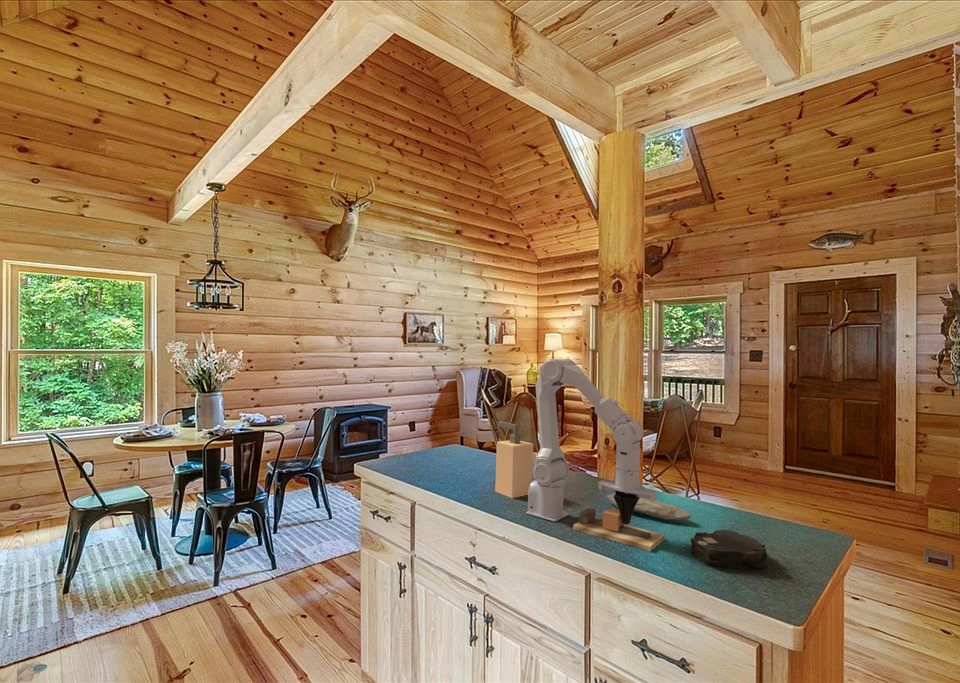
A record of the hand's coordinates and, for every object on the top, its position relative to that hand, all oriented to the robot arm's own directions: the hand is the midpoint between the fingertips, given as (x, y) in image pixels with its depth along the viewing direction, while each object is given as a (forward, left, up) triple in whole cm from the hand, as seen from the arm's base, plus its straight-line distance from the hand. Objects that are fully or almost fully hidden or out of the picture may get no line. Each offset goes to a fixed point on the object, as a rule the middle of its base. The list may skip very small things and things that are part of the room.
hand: (626, 523), depth 120 cm
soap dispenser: (-44, +11, -4) cm, 46 cm away
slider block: (-3, 0, -2) cm, 4 cm away
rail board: (-2, 0, -3) cm, 4 cm away
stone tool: (-3, +22, -4) cm, 22 cm away
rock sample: (+23, +4, -4) cm, 24 cm away
